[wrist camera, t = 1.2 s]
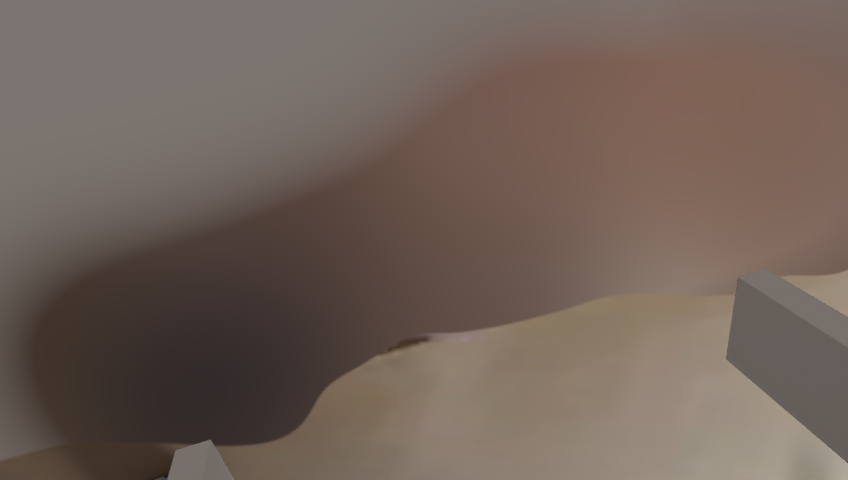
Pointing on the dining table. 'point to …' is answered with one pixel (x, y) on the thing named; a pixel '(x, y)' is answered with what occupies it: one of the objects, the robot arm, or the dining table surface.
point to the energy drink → (162, 478)
